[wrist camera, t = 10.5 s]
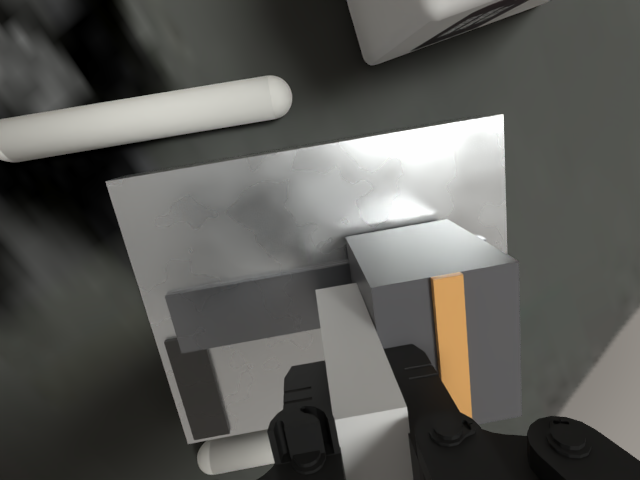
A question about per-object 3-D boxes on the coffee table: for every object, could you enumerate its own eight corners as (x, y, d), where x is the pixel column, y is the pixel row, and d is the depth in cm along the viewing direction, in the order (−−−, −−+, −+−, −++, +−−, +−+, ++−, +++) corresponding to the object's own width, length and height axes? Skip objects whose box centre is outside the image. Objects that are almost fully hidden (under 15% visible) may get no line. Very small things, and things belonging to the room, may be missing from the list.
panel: (197, 413, 20) (186, 449, 18) (126, 175, 17) (101, 182, 14) (490, 359, 20) (514, 387, 18) (479, 115, 17) (507, 113, 15)
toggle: (362, 350, 17) (393, 446, 12) (345, 236, 15) (372, 290, 10) (455, 333, 17) (525, 420, 12) (447, 218, 15) (522, 263, 10)
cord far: (205, 459, 21) (198, 485, 19) (197, 434, 20) (190, 459, 19) (423, 417, 21) (434, 440, 20) (421, 392, 21) (431, 413, 19)
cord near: (11, 163, 16) (-18, 167, 15) (-4, 122, 16) (-36, 122, 14) (295, 116, 16) (295, 115, 15) (288, 74, 16) (288, 69, 14)
